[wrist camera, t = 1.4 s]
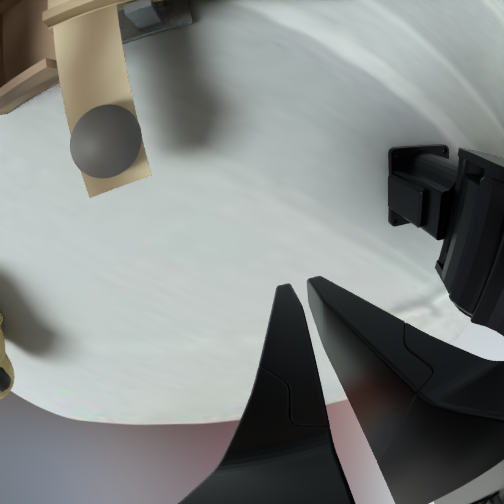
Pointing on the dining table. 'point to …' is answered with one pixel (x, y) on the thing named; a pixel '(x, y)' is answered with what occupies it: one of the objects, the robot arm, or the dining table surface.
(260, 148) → the dining table surface
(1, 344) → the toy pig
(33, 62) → the tray
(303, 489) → the robot arm
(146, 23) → the fulcrum
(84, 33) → the lever
